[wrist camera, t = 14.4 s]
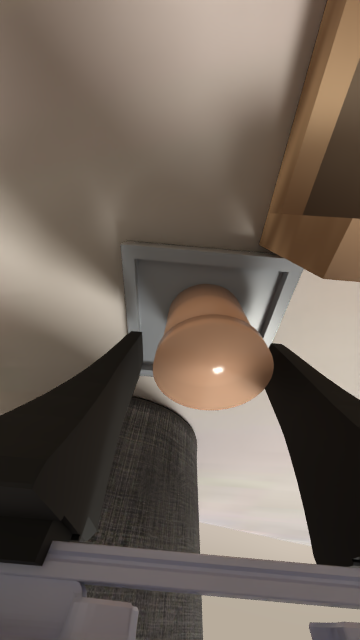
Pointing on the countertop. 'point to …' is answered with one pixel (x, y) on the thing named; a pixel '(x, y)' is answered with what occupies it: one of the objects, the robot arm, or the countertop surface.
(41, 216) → the countertop surface
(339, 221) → the cold frame
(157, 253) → the tray
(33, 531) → the robot arm
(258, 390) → the pot
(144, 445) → the planter
